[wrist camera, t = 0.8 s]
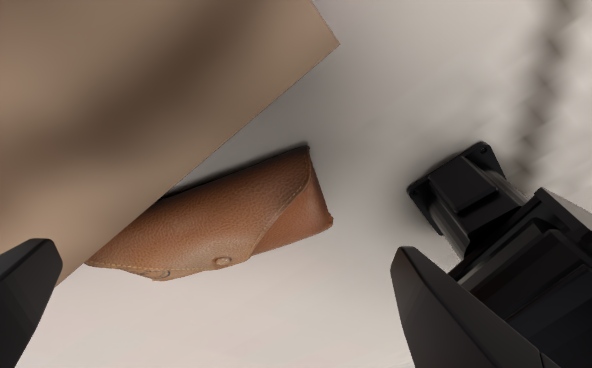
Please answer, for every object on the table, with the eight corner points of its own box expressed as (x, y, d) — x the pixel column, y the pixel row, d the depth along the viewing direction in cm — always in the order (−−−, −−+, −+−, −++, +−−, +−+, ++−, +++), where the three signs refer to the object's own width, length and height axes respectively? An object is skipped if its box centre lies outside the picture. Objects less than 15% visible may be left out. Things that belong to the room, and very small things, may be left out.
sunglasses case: (153, 287, 28) (99, 328, 21) (124, 215, 28) (60, 234, 21) (341, 223, 26) (345, 248, 19) (312, 144, 25) (306, 141, 19)
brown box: (322, 27, 17) (340, 44, 13) (48, 271, 26) (7, 328, 22) (175, -187, 12) (131, -266, 8) (-100, 203, 21) (-189, 258, 17)
